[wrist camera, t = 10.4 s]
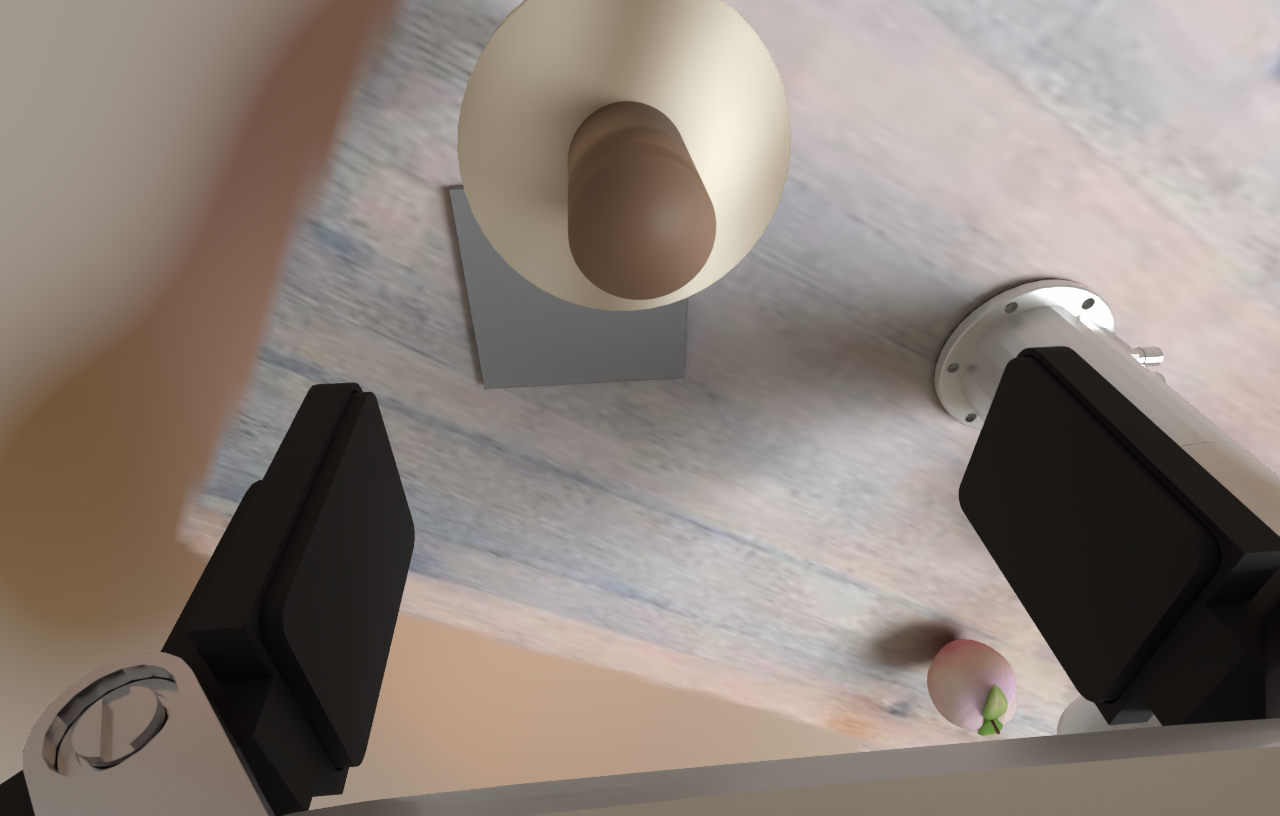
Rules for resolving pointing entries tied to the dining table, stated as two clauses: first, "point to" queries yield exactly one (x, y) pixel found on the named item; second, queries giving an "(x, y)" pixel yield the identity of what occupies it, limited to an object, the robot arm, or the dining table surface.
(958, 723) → the decorative fruit
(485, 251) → the mat
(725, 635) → the dining table surface
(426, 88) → the dining table surface
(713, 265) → the lid
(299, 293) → the dining table surface
